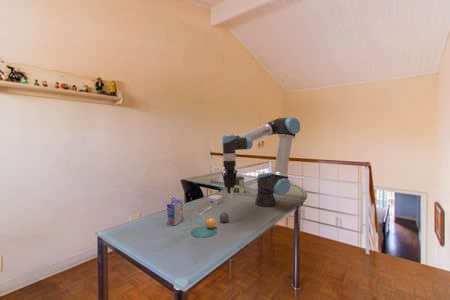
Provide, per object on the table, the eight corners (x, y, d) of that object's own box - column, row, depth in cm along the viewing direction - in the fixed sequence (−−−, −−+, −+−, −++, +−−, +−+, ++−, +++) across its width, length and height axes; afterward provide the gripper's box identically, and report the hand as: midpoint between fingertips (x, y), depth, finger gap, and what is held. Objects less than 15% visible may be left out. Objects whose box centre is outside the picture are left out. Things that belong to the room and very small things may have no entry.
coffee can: (233, 194, 193) (233, 178, 192) (232, 191, 203) (232, 176, 202) (245, 194, 194) (245, 178, 193) (243, 191, 204) (243, 176, 203)
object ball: (210, 215, 122) (205, 223, 119) (218, 220, 121) (213, 229, 118) (208, 217, 126) (203, 225, 123) (216, 223, 126) (211, 231, 123)
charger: (225, 199, 178) (217, 204, 165) (215, 198, 182) (206, 203, 169) (225, 193, 178) (217, 198, 164) (215, 192, 182) (206, 197, 168)
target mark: (216, 225, 125) (216, 225, 125) (217, 236, 112) (217, 236, 111) (191, 227, 124) (191, 226, 124) (189, 238, 110) (189, 238, 110)
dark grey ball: (220, 212, 129) (219, 222, 128) (229, 213, 129) (228, 223, 128) (219, 211, 134) (218, 220, 134) (228, 212, 134) (227, 221, 134)
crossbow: (208, 218, 141) (208, 215, 141) (191, 215, 146) (191, 212, 146) (219, 209, 156) (218, 206, 155) (203, 206, 161) (203, 204, 161)
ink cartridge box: (176, 218, 138) (175, 195, 137) (184, 219, 136) (183, 196, 135) (167, 224, 129) (166, 200, 128) (175, 225, 127) (174, 200, 126)
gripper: (231, 158, 141) (232, 194, 142) (217, 160, 131) (218, 199, 132) (240, 159, 136) (241, 196, 137) (227, 161, 126) (228, 201, 127)
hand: (230, 198), depth 135 cm, fingers closed
